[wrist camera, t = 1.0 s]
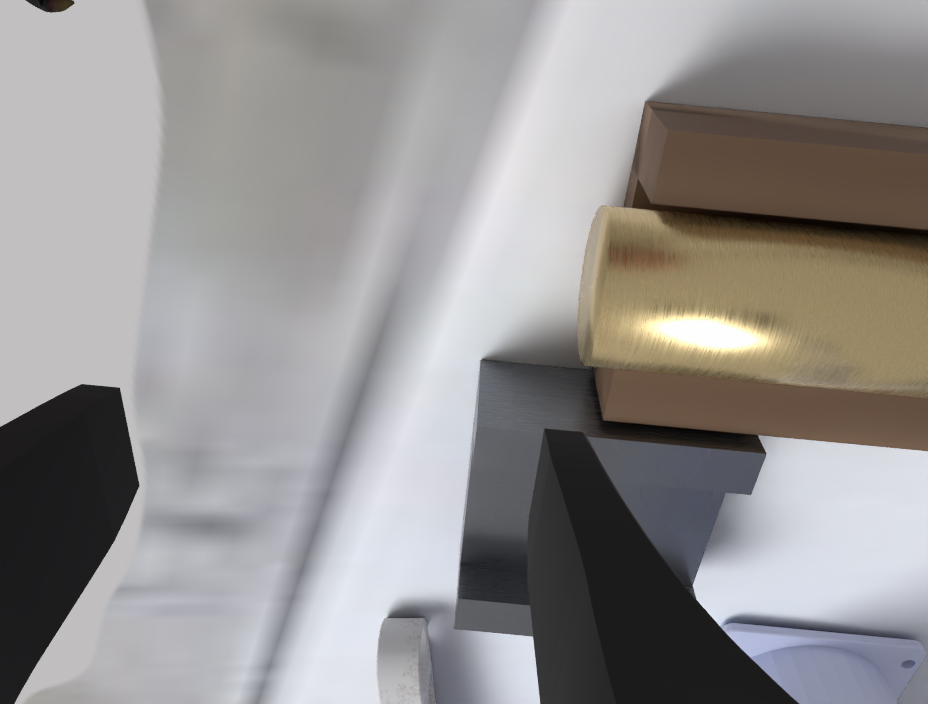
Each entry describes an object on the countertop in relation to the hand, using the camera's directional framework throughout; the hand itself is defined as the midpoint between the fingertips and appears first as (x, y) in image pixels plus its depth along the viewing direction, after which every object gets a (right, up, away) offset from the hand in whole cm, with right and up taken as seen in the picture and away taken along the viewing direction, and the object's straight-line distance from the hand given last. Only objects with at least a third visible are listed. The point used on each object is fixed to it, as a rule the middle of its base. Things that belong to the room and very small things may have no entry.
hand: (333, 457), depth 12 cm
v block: (+6, -3, +13) cm, 15 cm away
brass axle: (+11, +3, +6) cm, 13 cm away
